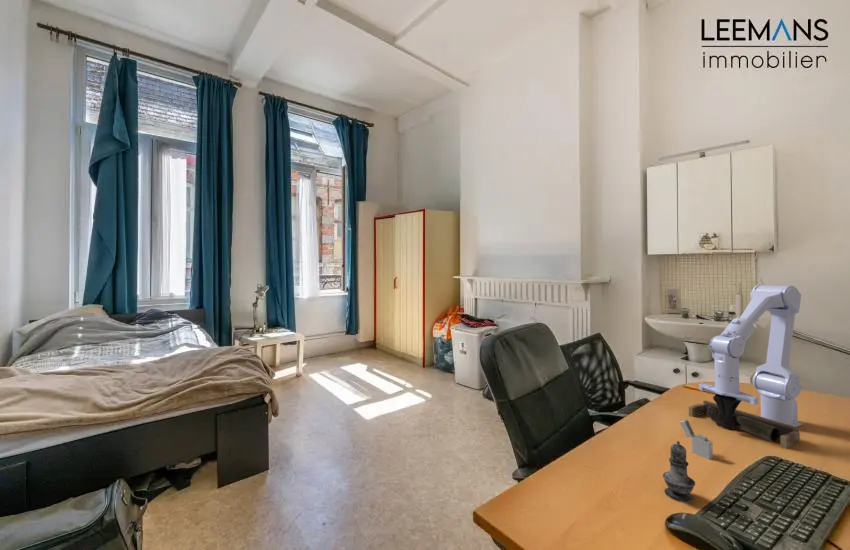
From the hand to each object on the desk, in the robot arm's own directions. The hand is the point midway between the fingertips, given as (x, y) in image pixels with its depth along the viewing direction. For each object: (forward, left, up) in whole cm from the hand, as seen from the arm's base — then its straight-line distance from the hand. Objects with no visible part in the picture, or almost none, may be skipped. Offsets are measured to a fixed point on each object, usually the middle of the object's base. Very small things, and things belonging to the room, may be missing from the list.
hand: (727, 420), depth 109 cm
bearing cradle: (-7, 0, -3) cm, 7 cm away
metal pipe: (-5, 0, -4) cm, 6 cm away
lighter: (+22, +4, -4) cm, 23 cm away
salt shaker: (+45, +14, -4) cm, 47 cm away
